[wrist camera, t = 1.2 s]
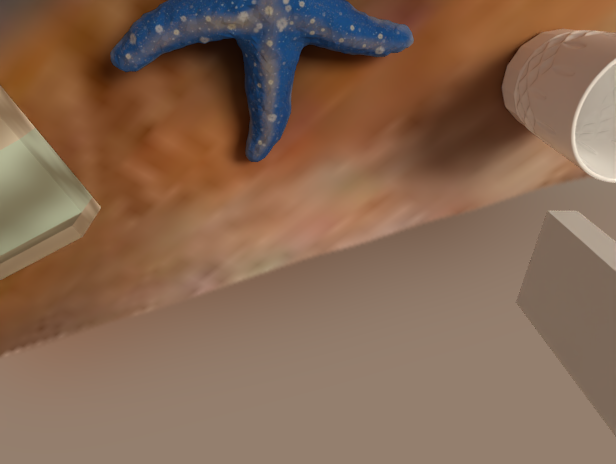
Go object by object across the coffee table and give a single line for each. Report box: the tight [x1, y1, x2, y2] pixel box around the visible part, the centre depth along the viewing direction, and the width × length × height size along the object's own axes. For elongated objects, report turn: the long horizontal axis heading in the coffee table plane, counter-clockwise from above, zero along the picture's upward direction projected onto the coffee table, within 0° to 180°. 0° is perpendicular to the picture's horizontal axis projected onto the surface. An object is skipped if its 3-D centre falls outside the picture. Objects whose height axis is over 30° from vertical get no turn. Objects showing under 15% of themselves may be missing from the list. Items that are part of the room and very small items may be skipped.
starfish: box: [110, 0, 414, 162], centre depth 29 cm, size 19×19×5 cm
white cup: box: [502, 29, 616, 183], centre depth 31 cm, size 8×8×10 cm
